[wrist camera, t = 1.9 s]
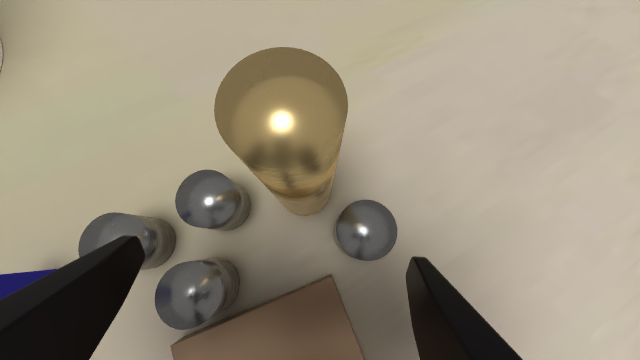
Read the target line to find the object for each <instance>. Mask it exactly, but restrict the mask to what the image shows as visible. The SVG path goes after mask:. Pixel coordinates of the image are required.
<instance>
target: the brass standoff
mask: <svg viewBox="0 0 640 360" xmlns="http://www.w3.org/2000/svg"><path fill="white" fill-rule="evenodd" d="M214 112H215V120H216V124H217V128H218V130H219V133H220V135H221V136H222V138H223V140H224V141H225V143H226V144H227V145H228V146H229V148H230V149H231V150H232V151H233V152H234V153H235V154H236V155H237V156H238V157H239V158H240V159H241V160H242V161H243V163H244V164H245V165H246V166H247V167H248V168H249V169H250V170H251V171H252V172H253V173H254V174H255V175H256V176H257V177H258V179H259V180H260V181H261V182H262V183H263V184H264V185H265V186H266V187H267V188H268V189H269V190H270V191H271V192H272V193H273V195H274V196H275V197H276V198H277V199H278V200H279V201H280V202H281V203H282V204H283V205H284V206H285V207H286V208H287V209H288V210H289V211H290V212H292V213H294V214H297V215H302V216H308V215H312V214H315V213H317V212H319V211H320V210H321V209H323V208H324V206H325V205H326V204H327V202H328V200H329V197H330V193H331V188H332V184H333V179H334V174H335V169H336V165H337V160H338V155H339V151H340V146H341V141H342V137H343V132H344V127H345V122H346V118H347V112H348V100H347V94H346V90H345V87H344V84H343V82H342V80H341V78H340V77H339V75H338V74H337V72H336V71H335V70H334V69H333V68H332V67H331V66H330V65H329V64H328V63H327V62H326V61H325V60H323V59H322V58H320V57H318V56H317V55H315V54H313V53H310V52H308V51H305V50H301V49H297V48H289V47H277V48H270V49H265V50H262V51H259V52H256V53H254V54H251V55H249V56H248V57H246V58H244V59H243V60H241V61H240V62H238V63H237V64H236V65H235V66H234V67H233V68H232V69H231V70H230V71H229V72H228V73H227V75H226V76H225V78H224V79H223V81H222V82H221V84H220V87H219V89H218V92H217V95H216V99H215V109H214Z"/></svg>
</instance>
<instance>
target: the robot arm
mask: <svg viewBox="0 0 640 360" xmlns="http://www.w3.org/2000/svg"><path fill="white" fill-rule="evenodd" d="M144 260H145V251H144V249H143V246H142V244H141V241H140V239H139V238H138V237H137V236H133V235H123V236H120V237H118V238H117V239H115V240H113V241H111V242H109V243H107V244H105V245H103V246H101V247H99V248H98V249H96V250H94V251H92V252H90V253H88V254H86V255H84V256H82V257H80V258H78V259H77V260H75V261H73V262H71V263H69V264H67V265H65V266H63V267H61V268H59V269H58V270H56V271H54V272H52V273H50V274H48V275H46V276H44V277H42V278H40V279H38V280H37V281H35V282H33V283H31V284H29V285H27V286H25V287H23V288H21V289H19V290H18V291H16V292H14V293H12V294H10V295H8V296H6V297H4V298H2V299H0V360H89V359H90V357H91V356H92V354H93V352H94V351H95V349H96V348H97V346H98V344H99V343H100V341H101V339H102V338H103V336H104V334H105V333H106V331H107V330H108V328H109V326H110V325H111V323H112V321H113V320H114V318H115V316H116V315H117V313H118V312H119V310H120V308H121V306H122V305H123V303H124V301H125V299H126V297H127V295H128V293H129V291H130V289H131V287H132V285H133V283H134V281H135V279H136V277H137V275H138V272H139V270H140V268H141V266H142V264H143V262H144ZM406 284H407V291H408V299H409V306H410V314H411V321H412V327H413V332H414V336H415V340H416V344H417V348H418V352H419V356H420V360H523V359H522V358H521V357H520V356H519V355H518V354H517V353H516V352H515V351H514V350H513V349H512V348H511V347H510V346H509V345H508V344H507V342H506V341H505V340H504V339H503V338H502V337H501V336H500V335H499V334H498V333H497V332H496V331H495V330H494V329H493V328H492V327H491V326H490V325H489V324H488V322H487V321H486V320H485V319H484V318H483V317H482V316H481V315H480V314H479V313H478V312H477V311H476V310H475V309H474V308H473V307H472V306H471V305H470V304H469V302H468V301H467V300H466V299H465V298H464V297H463V296H462V295H461V294H460V293H459V292H458V291H457V290H456V289H455V288H454V287H453V286H452V285H451V284H450V282H449V281H448V280H447V279H446V278H445V277H444V276H443V275H442V274H441V273H440V272H439V271H438V270H437V269H436V268H435V267H434V266H433V265H432V264H431V262H430V261H429V260H428V259H427V258H425V257H416V256H414V257H412V258H411V260H410V263H409V266H408V269H407V272H406Z"/></svg>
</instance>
